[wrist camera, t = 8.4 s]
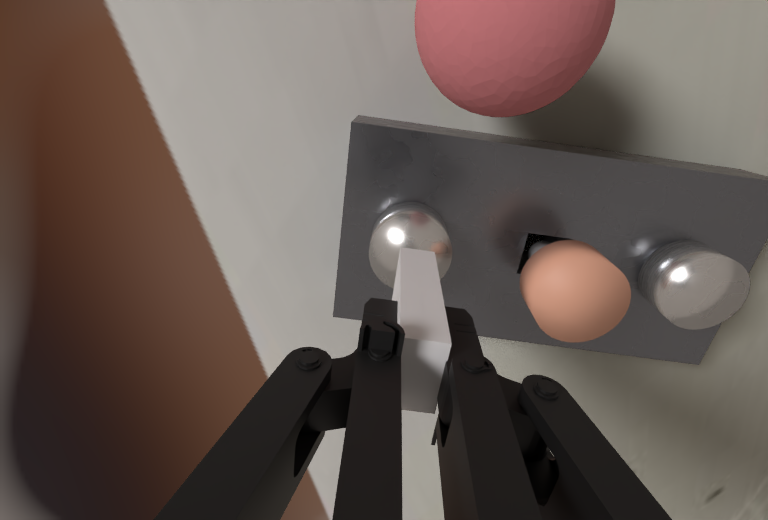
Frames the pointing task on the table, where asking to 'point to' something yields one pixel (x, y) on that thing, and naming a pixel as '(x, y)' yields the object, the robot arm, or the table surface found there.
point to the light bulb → (509, 49)
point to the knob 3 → (693, 284)
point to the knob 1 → (408, 238)
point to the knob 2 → (573, 290)
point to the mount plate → (541, 222)
